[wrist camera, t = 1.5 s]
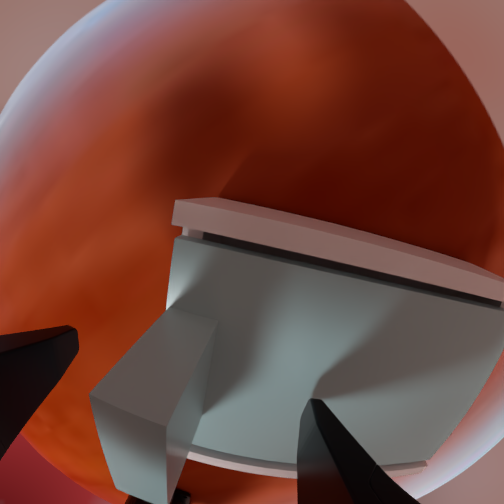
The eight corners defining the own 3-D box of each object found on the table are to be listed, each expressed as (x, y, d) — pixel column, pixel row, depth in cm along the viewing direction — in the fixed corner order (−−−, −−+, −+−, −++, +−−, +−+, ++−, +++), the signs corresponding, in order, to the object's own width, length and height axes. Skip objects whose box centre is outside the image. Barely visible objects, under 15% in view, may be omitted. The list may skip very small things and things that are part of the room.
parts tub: (398, 418, 14) (420, 473, 9) (186, 387, 15) (157, 448, 10) (471, 263, 12) (530, 291, 7) (216, 197, 12) (175, 199, 7)
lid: (426, 452, 10) (452, 518, 5) (164, 425, 10) (122, 509, 5) (510, 309, 8) (582, 360, 3) (181, 234, 8) (73, 285, 4)
